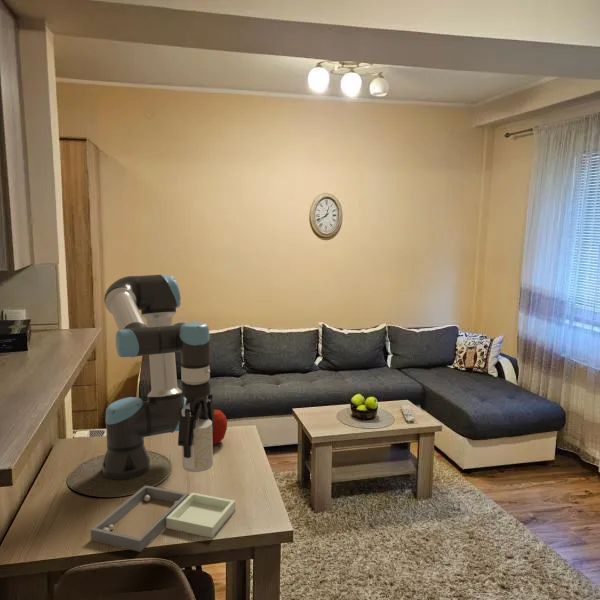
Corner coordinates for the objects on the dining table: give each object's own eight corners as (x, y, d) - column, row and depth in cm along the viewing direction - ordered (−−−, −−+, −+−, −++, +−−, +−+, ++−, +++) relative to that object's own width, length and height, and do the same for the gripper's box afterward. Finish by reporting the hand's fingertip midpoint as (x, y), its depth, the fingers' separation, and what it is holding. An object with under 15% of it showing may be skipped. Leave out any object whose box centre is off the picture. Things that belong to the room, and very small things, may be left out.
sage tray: (166, 528, 141) (166, 517, 140) (192, 501, 154) (192, 492, 153) (212, 538, 136) (212, 527, 136) (235, 510, 150) (235, 500, 149)
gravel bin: (91, 540, 135) (90, 529, 135) (145, 494, 158) (145, 485, 157) (140, 551, 131) (140, 541, 130) (189, 503, 153) (188, 493, 153)
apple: (226, 448, 190) (226, 412, 188) (198, 449, 189) (198, 412, 187) (228, 436, 200) (227, 402, 198) (201, 437, 199) (201, 402, 197)
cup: (185, 474, 137) (184, 431, 135) (180, 461, 144) (179, 420, 143) (215, 468, 140) (215, 426, 138) (209, 456, 148) (208, 416, 146)
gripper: (187, 394, 128) (189, 480, 131) (226, 371, 147) (227, 447, 151) (161, 390, 130) (164, 475, 134) (203, 368, 150) (204, 443, 153)
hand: (197, 460), depth 142 cm, fingers closed on cup, 8 cm apart
